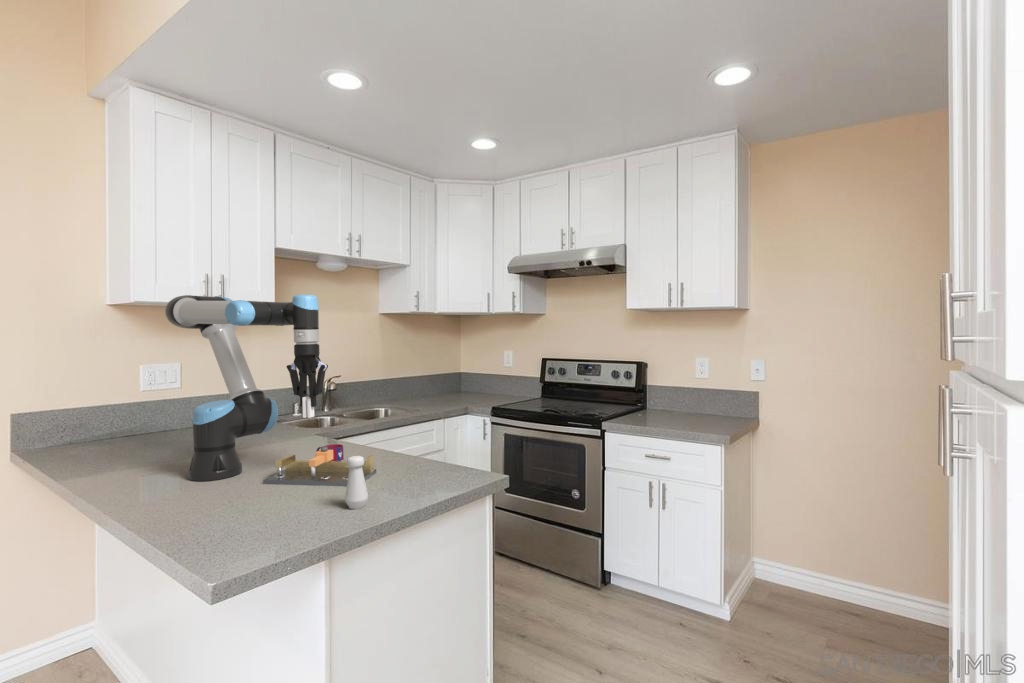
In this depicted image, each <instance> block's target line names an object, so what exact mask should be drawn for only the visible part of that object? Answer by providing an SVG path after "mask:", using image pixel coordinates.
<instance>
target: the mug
mask: <svg viewBox="0 0 1024 683" xmlns="http://www.w3.org/2000/svg"><path fill="white" fill-rule="evenodd" d="M321 447H328V450H333V460H331V461H345V459H344V445H343V444H341V443H340V444H339V443H337V444H336V443H335V444H334V443H333V444H332V443H331V444H327V445H326V444H325V445H324V446H319V447H317V448H316V450H315V451H316V452H317V451H320V450H321Z"/></svg>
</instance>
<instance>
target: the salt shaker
mask: <svg viewBox="0 0 1024 683" xmlns="http://www.w3.org/2000/svg"><path fill="white" fill-rule="evenodd" d="M346 461H347V466H348V467H349V475H348V482H347V486H346V490H345V496H344V501H345V503H346V504H347V507H348V508H349V509H350V510H358V509H362V508H364V507H365V506H366V504H367V501H368V498H369V493H368V489H367V484H366V481H365V478H364V474H363V469H362V466H363V465H364V461H365V458H364V457H363V456H361V455H353V456H350V457H348V458H347V460H346Z"/></svg>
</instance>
